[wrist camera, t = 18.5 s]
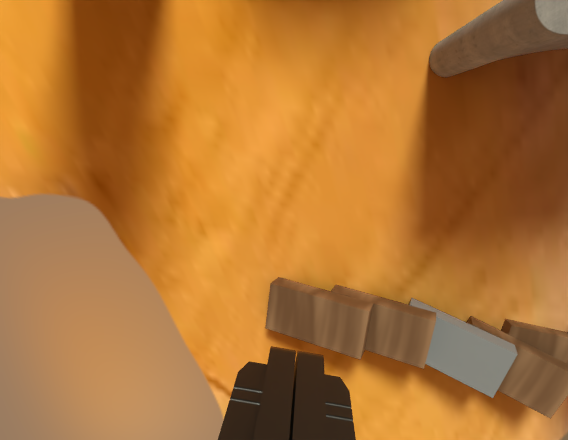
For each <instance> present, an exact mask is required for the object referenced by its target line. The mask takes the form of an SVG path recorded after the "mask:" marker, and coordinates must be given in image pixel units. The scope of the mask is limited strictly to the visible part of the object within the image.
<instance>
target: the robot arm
mask: <svg viewBox="0 0 568 440" xmlns="http://www.w3.org/2000/svg"><path fill="white" fill-rule="evenodd" d="M295 356H296V351H295V350H289V349H283V348H278V347H272V346H271V348H270V353H269V359H268V364H267V365H266V364H260V363H255V362H248V363H247V364H246V365H245V366H244V367H243V368H242V369H241V370H240V371H239V372H238V374H237V378H236V381H235V384H234V389H233V391H232V394H231V398H230V401H229V404H228V408H227V411H226V414H225V418H224V421H223V424H222V428H221V431H220V434H219V438H218V440H356V439H355V431H354V423H353V416H352V409H351V401H350V393H349V390H348V388H347V387H346V385H345V384H344V382H343V381H342V379H341V378H340V377H336V376H331V375H325V374H324V357H323V355H319V354H313V353H307V352H302V351H298V352H297V357H296V362H295Z"/></svg>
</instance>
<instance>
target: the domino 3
mask: <svg viewBox="0 0 568 440" xmlns="http://www.w3.org/2000/svg"><path fill="white" fill-rule="evenodd" d="M409 305H411V306H414V307H418V308H422V309H425V310H429V311H432V312H436V323H435V327H434V331H433V335H432V339H431V343H430V347H429V351H428V355H427V359H426V363H425V364H427V365H429V366H431V367H433V368H435V369H436V370H438V371H440V372H442V373H444V374H446V375H448V376H450V377H452V378H454V379H456V380H458V381H460V382H462V383H464V384H466V385H468V386H470V387H472V388H474V389H476V390H478V391H480V392H482V393H484V394H486V395H488V396H490V397H492V398H493V397H494V395H495V394H496V392H497V390H498V388H499V386H500V385H501V383H502V381H503V379H504V378H505V376H506V374H507V372H508V371H509V369H510V367H511V365H512V363H513V362H514V360H515V358H516V356H517V355H518V354H517V351H516V348H515V345H514V344H512V343H509V342H507V341H505V340H503V339H501V338H499V337H496V336H494V335H492V334H490V333H488V332H485V331H483V330H481V329H479V328H477V327H475V326H472V325H470V324H468V323H466V322H464V321H461V320H459V319H457V318H455V317H453V316H451V315H448V314H446V313H444V312H442V311H440V310H437V309H435V308H433V307H431V306H429V305H427V304H424V303H422V302H420V301H418V300H416V299H413V298H412V299H411V301H410V304H409Z"/></svg>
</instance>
